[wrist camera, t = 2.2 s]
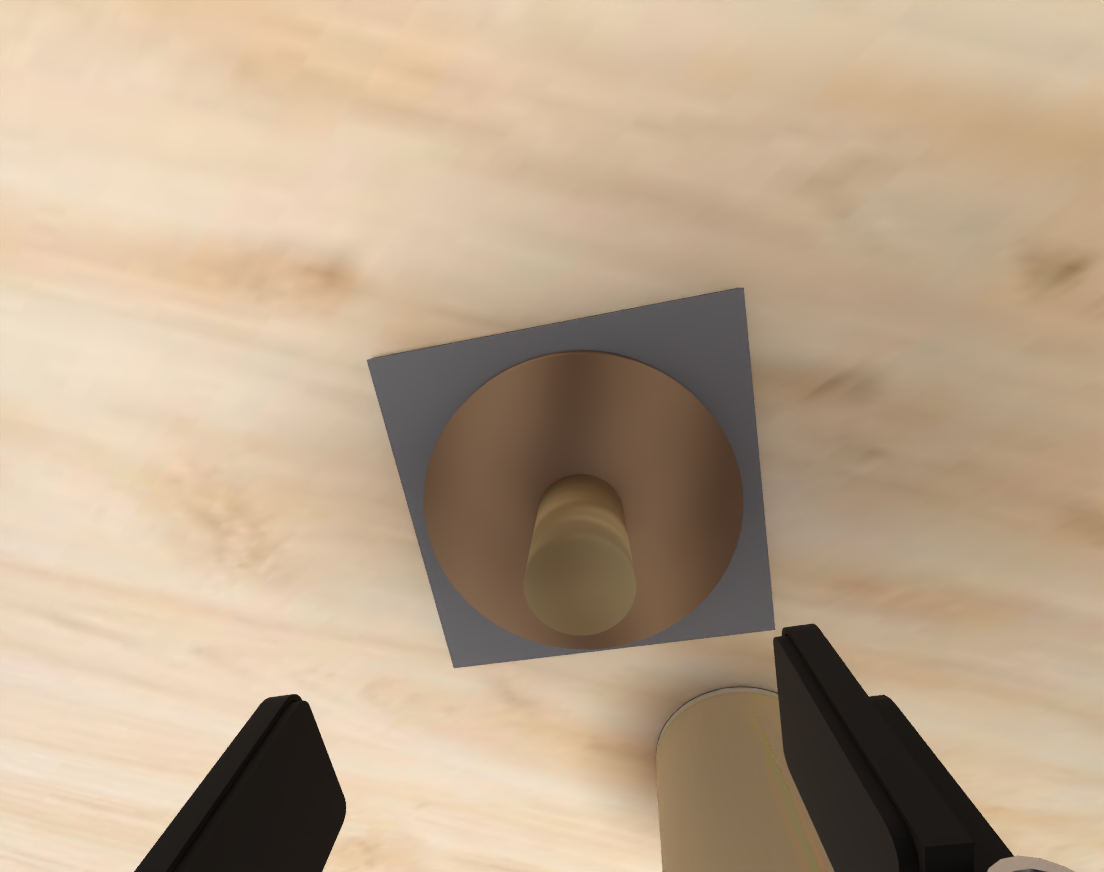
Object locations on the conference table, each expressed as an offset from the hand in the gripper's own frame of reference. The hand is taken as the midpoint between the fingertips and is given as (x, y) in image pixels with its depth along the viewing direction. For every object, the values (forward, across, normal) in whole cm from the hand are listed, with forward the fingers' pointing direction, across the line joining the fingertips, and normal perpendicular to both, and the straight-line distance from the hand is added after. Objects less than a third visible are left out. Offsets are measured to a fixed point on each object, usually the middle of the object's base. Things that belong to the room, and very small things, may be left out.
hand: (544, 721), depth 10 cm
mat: (+12, -1, 0) cm, 12 cm away
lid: (+11, -1, 0) cm, 11 cm away
